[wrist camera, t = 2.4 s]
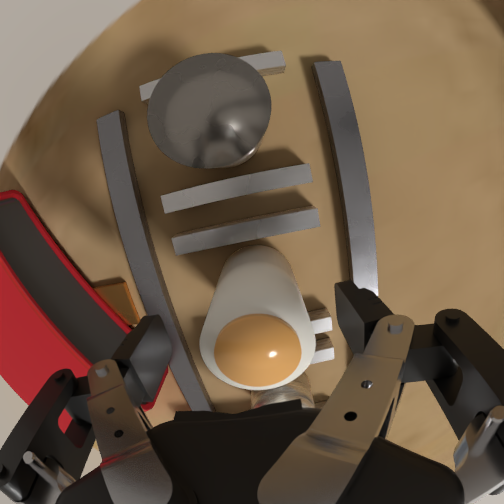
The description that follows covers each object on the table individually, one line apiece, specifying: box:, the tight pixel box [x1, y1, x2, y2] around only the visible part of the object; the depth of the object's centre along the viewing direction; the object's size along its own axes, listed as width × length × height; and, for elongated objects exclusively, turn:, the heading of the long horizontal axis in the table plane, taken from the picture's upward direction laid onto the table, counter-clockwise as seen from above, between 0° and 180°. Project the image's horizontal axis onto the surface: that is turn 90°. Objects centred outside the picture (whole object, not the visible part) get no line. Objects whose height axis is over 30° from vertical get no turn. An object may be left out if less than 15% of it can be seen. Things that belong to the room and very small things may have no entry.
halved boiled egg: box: [200, 245, 316, 390], centre depth 13 cm, size 4×4×7 cm
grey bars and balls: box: [92, 51, 378, 412], centre depth 14 cm, size 19×26×6 cm
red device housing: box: [0, 190, 168, 433], centre depth 16 cm, size 18×14×5 cm
